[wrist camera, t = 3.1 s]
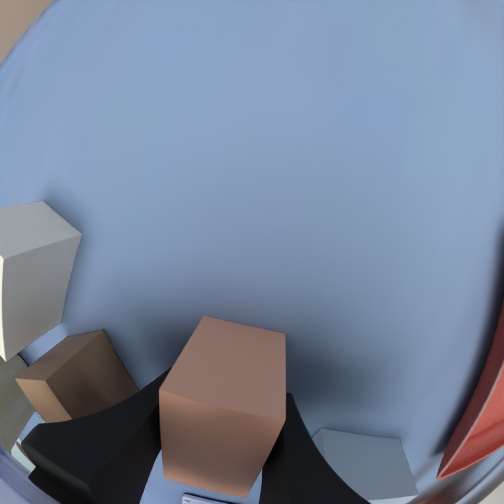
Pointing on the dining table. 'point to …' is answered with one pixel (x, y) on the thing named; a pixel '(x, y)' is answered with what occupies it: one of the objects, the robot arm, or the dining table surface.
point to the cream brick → (33, 273)
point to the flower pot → (12, 402)
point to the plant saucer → (480, 414)
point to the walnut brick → (76, 378)
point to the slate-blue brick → (369, 465)
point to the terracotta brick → (223, 406)
